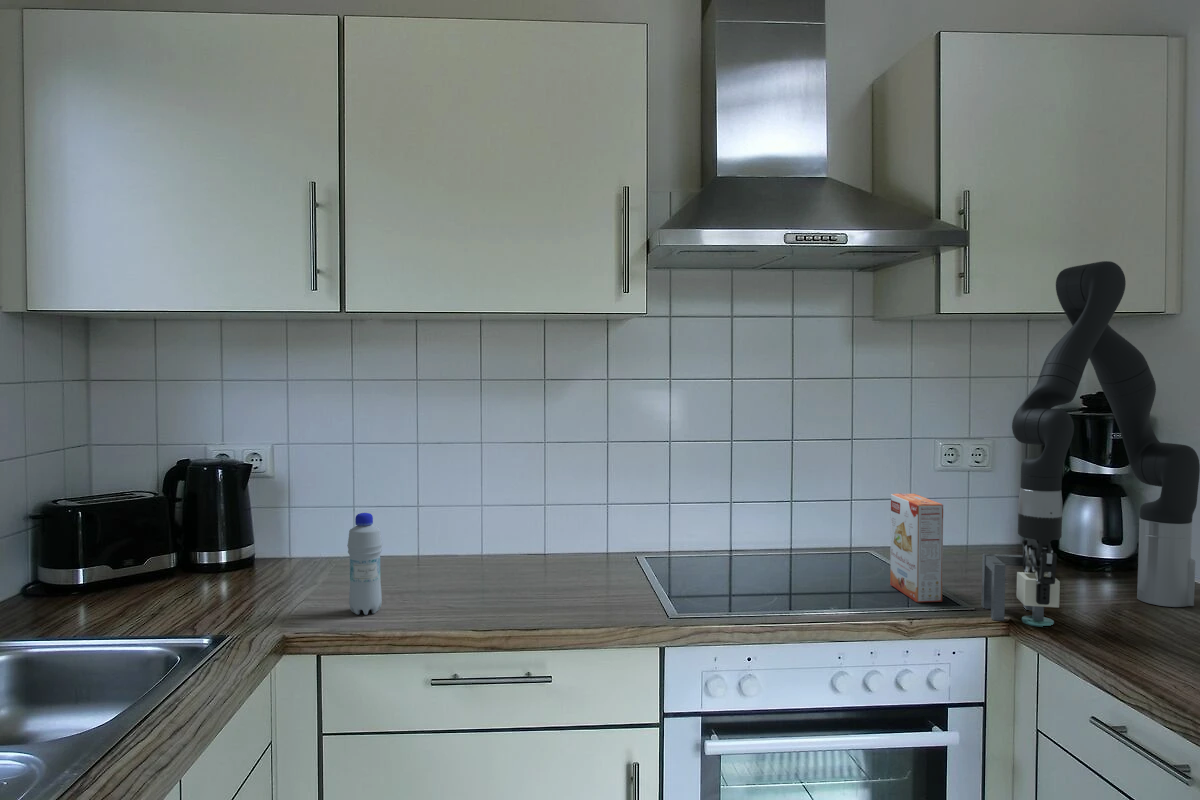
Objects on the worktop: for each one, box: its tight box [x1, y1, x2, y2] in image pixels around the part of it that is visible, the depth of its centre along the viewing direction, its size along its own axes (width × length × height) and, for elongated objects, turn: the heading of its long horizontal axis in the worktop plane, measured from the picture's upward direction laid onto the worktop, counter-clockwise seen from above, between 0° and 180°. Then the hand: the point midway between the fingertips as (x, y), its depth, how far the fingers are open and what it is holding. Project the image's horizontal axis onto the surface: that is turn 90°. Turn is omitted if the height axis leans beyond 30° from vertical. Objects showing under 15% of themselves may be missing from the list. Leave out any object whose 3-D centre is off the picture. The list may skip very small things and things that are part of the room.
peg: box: [1021, 606, 1055, 628], centre depth 168 cm, size 6×6×6 cm
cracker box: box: [889, 493, 944, 604], centre depth 188 cm, size 14×6×21 cm, turn 4°
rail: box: [980, 553, 1032, 622], centre depth 173 cm, size 10×10×11 cm
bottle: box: [347, 512, 383, 616], centre depth 174 cm, size 7×7×20 cm
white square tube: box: [1015, 571, 1061, 608], centre depth 168 cm, size 6×6×5 cm
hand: (1037, 599), depth 168 cm, fingers closed on white square tube, 6 cm apart
